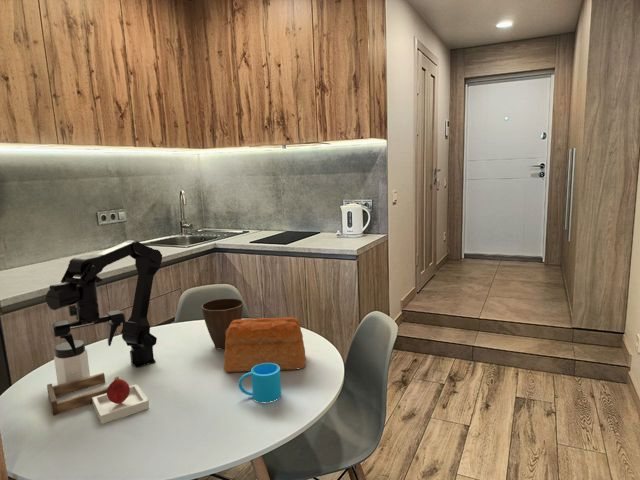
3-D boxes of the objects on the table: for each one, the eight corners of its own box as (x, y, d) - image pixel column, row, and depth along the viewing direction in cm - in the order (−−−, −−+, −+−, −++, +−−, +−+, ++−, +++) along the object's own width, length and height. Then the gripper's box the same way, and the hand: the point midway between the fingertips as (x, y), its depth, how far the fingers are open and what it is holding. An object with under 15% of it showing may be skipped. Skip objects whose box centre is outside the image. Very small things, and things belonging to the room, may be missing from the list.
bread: (229, 356, 152) (226, 315, 150) (305, 353, 153) (304, 312, 151) (221, 374, 138) (218, 329, 136) (305, 371, 139) (303, 326, 137)
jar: (58, 390, 131) (53, 353, 129) (57, 380, 138) (52, 344, 136) (91, 382, 136) (87, 345, 134) (88, 372, 142) (84, 337, 141)
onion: (134, 403, 120) (130, 377, 119) (111, 412, 117) (107, 384, 115) (128, 395, 125) (124, 369, 123) (106, 403, 121) (102, 376, 120)
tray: (137, 391, 129) (136, 384, 129) (149, 408, 120) (148, 400, 119) (92, 405, 122) (92, 397, 122) (101, 424, 113) (100, 415, 112)
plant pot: (196, 348, 160) (192, 306, 157) (226, 335, 172) (223, 296, 169) (224, 357, 151) (221, 313, 149) (253, 342, 163) (251, 301, 161)
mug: (281, 388, 129) (280, 362, 127) (280, 402, 121) (279, 375, 119) (240, 390, 128) (239, 364, 127) (237, 405, 120) (235, 377, 119)
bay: (104, 381, 136) (103, 369, 135) (113, 397, 126) (111, 384, 125) (48, 397, 127) (46, 384, 126) (53, 415, 117) (51, 402, 116)
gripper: (114, 288, 140) (119, 334, 142) (47, 299, 129) (53, 349, 131) (123, 295, 131) (128, 344, 134) (51, 308, 120) (58, 361, 123)
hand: (92, 349), depth 131 cm, fingers open, 9 cm apart
